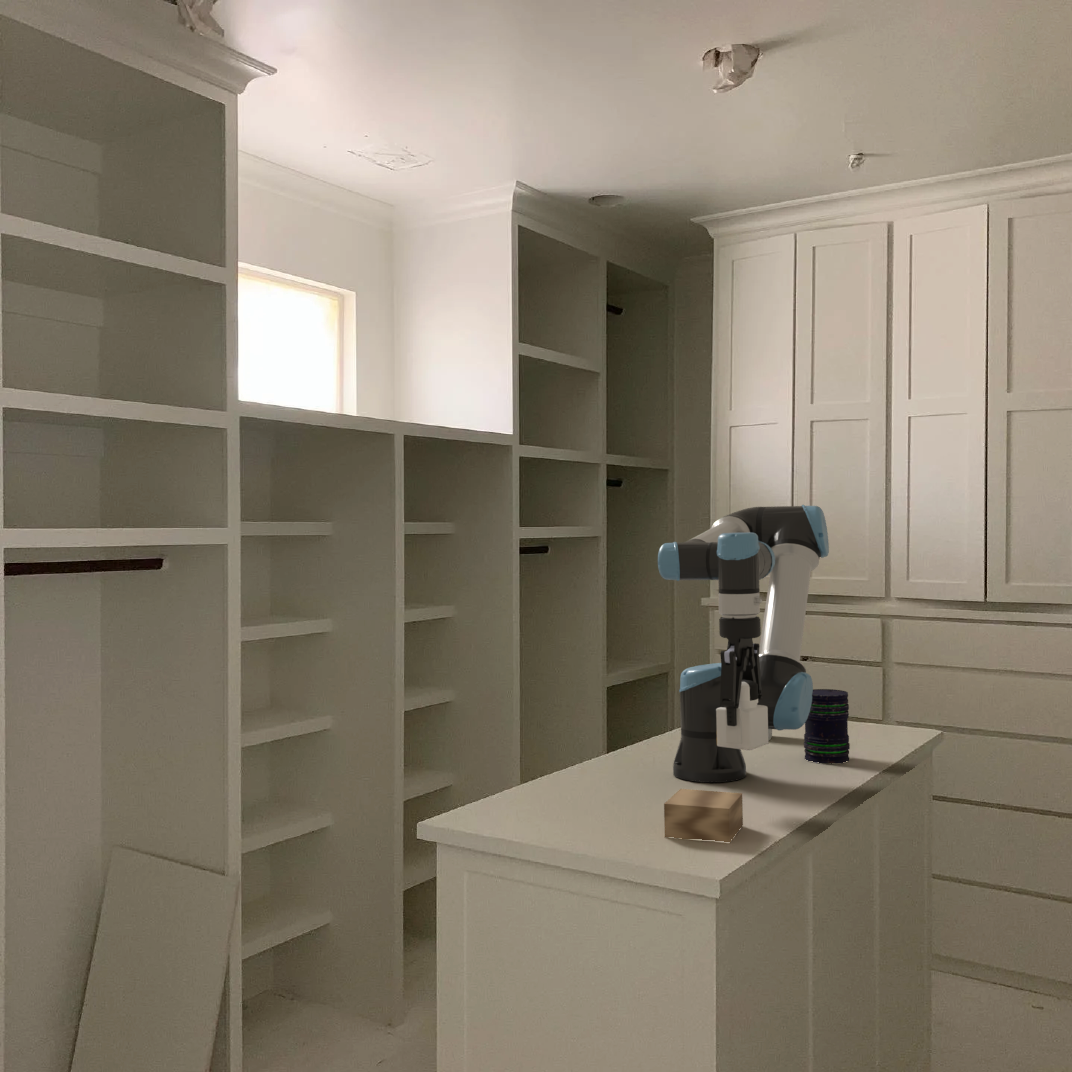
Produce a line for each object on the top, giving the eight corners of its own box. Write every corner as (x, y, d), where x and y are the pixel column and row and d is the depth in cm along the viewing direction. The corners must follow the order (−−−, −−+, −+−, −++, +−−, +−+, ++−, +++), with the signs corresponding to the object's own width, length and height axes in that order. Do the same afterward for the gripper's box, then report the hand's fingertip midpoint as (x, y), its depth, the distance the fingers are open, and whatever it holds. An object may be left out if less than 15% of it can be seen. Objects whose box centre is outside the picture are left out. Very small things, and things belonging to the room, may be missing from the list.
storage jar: (841, 765, 232) (840, 696, 232) (797, 761, 237) (796, 693, 237) (855, 757, 240) (854, 690, 240) (813, 753, 246) (811, 687, 245)
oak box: (664, 839, 180) (664, 803, 180) (681, 822, 190) (680, 788, 190) (729, 845, 176) (729, 808, 176) (742, 827, 186) (742, 793, 186)
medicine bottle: (734, 739, 204) (733, 676, 204) (769, 743, 199) (767, 679, 199) (716, 746, 198) (714, 681, 198) (750, 751, 194) (749, 684, 194)
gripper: (738, 621, 188) (741, 751, 188) (777, 611, 205) (780, 730, 205) (698, 620, 192) (701, 747, 192) (740, 610, 209) (743, 727, 209)
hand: (742, 738), depth 199 cm, fingers closed on medicine bottle, 7 cm apart
